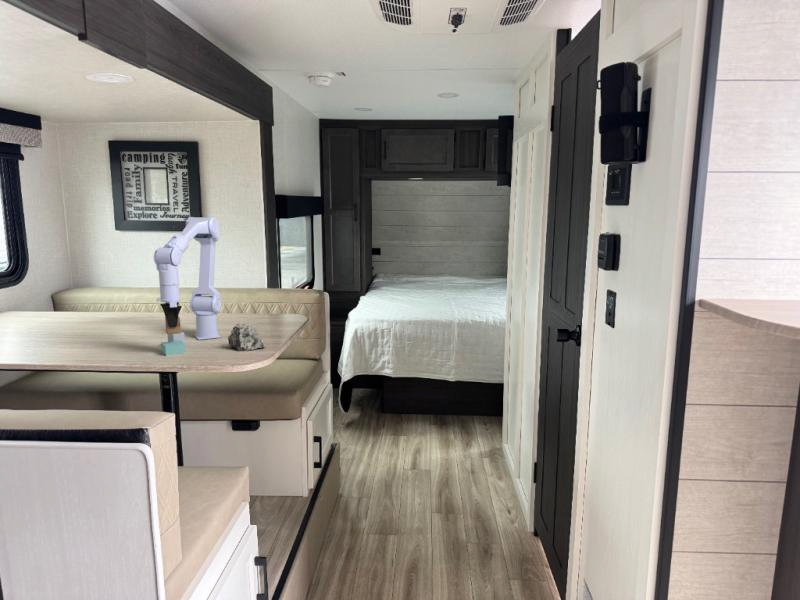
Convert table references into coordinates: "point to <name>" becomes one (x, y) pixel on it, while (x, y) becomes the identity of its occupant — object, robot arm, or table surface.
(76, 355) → the table surface
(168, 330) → the walnut block
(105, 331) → the table surface
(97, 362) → the table surface
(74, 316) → the table surface
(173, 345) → the teal slab
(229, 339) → the rock
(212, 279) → the robot arm
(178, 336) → the bluegrey block
